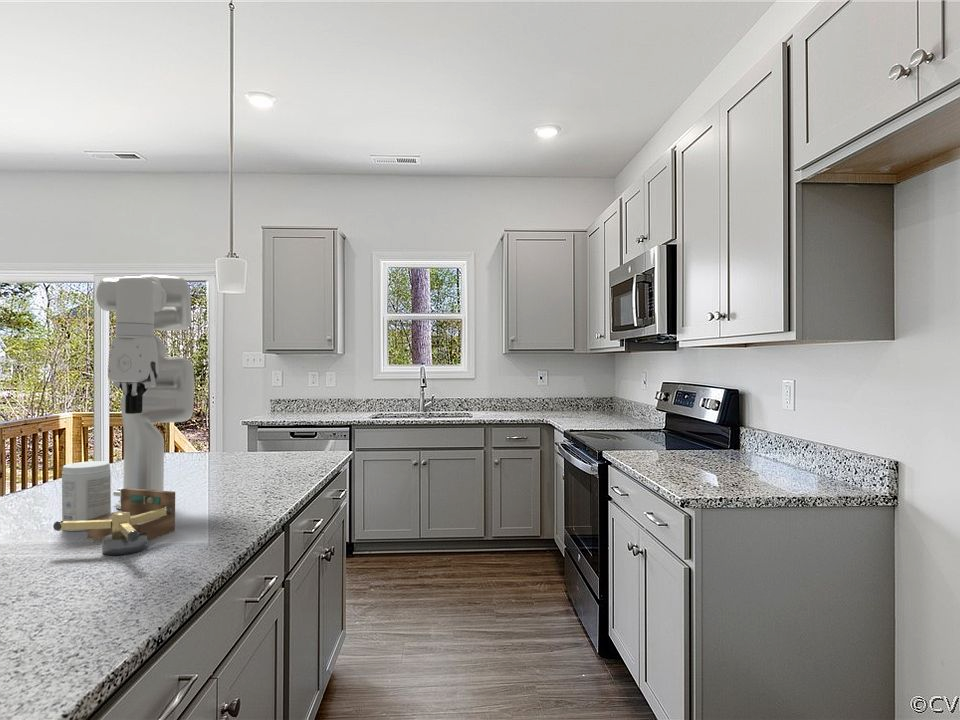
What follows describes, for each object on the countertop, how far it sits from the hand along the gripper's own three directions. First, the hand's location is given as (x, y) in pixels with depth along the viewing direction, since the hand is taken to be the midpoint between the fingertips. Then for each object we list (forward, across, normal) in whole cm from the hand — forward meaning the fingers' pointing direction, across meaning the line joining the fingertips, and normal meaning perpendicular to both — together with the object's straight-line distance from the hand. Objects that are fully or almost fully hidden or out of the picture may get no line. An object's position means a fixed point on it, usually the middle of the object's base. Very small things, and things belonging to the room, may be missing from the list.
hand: (133, 413), depth 137 cm
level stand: (+27, +1, -1) cm, 27 cm away
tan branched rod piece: (+27, +10, -13) cm, 31 cm away
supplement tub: (+27, -14, +1) cm, 31 cm away
